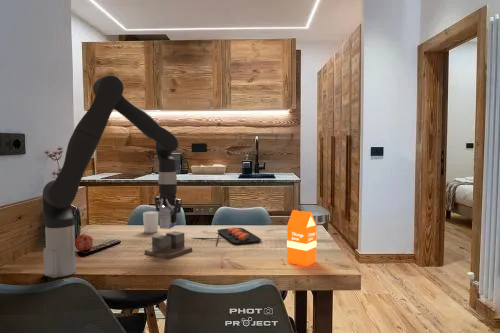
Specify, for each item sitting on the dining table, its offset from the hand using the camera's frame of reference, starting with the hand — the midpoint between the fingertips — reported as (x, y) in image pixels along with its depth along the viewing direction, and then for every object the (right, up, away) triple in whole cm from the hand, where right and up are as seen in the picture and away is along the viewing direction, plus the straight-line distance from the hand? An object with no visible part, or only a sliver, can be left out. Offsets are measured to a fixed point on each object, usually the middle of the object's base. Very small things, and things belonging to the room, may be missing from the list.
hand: (168, 222), depth 163 cm
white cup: (-18, -11, +40) cm, 45 cm away
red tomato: (-37, -13, +4) cm, 40 cm away
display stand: (0, -13, +1) cm, 13 cm away
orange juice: (+55, -14, -12) cm, 58 cm away
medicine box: (0, -2, 0) cm, 2 cm away
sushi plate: (+21, -12, +25) cm, 35 cm away
